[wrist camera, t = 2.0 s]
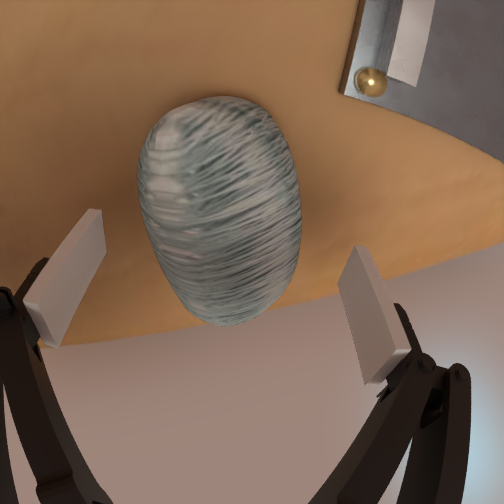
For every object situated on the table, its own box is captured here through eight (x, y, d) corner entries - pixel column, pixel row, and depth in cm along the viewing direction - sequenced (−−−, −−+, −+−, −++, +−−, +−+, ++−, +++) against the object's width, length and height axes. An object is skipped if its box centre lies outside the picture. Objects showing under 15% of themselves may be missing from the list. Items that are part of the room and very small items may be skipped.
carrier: (338, 92, 16) (353, 99, 14) (379, -123, 4) (395, -137, 2) (519, 172, 19) (539, 187, 16) (554, 5, 7) (575, 9, 4)
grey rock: (313, 297, 22) (255, 388, 14) (206, 269, 26) (122, 328, 18) (331, 106, 17) (269, 76, 9) (204, 105, 21) (95, 102, 12)
